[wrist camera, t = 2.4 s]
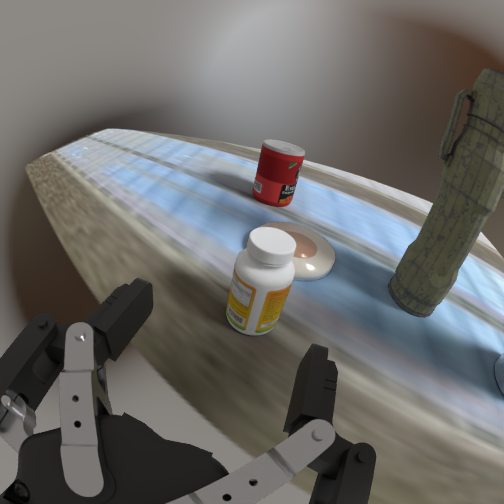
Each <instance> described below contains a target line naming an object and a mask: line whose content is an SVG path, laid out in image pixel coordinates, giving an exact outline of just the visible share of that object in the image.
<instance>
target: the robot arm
mask: <svg viewBox="0 0 504 504" xmlns="http://www.w3.org/2000/svg"><path fill="white" fill-rule="evenodd" d="M152 309H153V290H152V284H151V283H149V282H147V281H145V280H142V279H140V278H136V279H135V280H134V281H133V282H132V283H131V284H130V285H128V284H124V285H122V286H120V287H118V288H116V289H115V290H114V291H113V293H112V294H111V295H110V296H109V297H108V298H107V299H106V300H105V302H103V303H102V304H101V305H100V306H99V307H98V308H97V310H96V311H95V312H94V313H93V314H92V315H91V316H90V317H89V318H88V319H87V320H86V321H85V322H84V323H83V322H78V323H75V324H73V325H71V326H68V325H65V324H61V323H57V322H55V320H54V317H53V316H52V315H51V314H49V313H40V314H38V315H37V316H35V317H34V318H33V319H32V320H31V322H30V323H29V324H28V325H27V326H26V327H25V328H24V330H23V331H22V332H21V333H20V334H19V336H18V337H17V338H16V339H15V341H14V342H13V343H12V344H11V345H10V347H9V348H8V349H7V351H6V352H5V353H4V354H3V356H2V357H1V358H0V436H1V437H2V438H3V439H4V440H5V441H6V442H7V443H8V444H9V445H10V446H11V447H12V448H13V449H14V450H16V451H17V452H18V453H19V459H18V460H19V462H18V472H17V476H16V479H15V481H14V482H13V483H12V484H11V485H10V486H9V487H8V488H7V489H6V490H5V491H4V492H3V493H2V494H1V495H0V504H255V503H257V502H258V501H260V500H262V499H263V498H265V497H266V496H268V495H269V494H271V493H272V492H274V491H275V490H277V489H278V488H280V487H281V486H283V485H284V484H285V483H287V482H288V481H290V480H291V479H292V478H293V477H294V476H295V474H297V473H298V472H299V471H300V470H302V469H303V468H304V467H305V466H307V467H309V468H311V469H312V470H314V471H316V472H318V475H317V479H316V482H315V486H314V489H313V492H312V495H311V498H310V502H309V504H367V503H368V499H369V495H370V490H371V485H372V480H373V474H374V469H375V462H376V453H375V450H374V449H373V447H372V446H371V445H369V444H367V443H357V444H353V443H351V442H349V441H347V440H345V439H343V438H342V437H340V436H339V435H338V434H337V433H336V432H335V430H334V428H333V424H332V418H333V411H334V403H335V395H336V392H335V391H336V386H337V384H336V383H337V376H338V371H337V368H336V365H335V362H333V361H330V360H327V358H328V348H326V347H323V346H320V345H316V344H312V345H311V346H310V348H309V350H308V351H307V353H306V354H305V356H304V358H303V359H302V361H301V363H300V365H299V368H298V371H297V375H296V379H295V384H294V388H293V393H292V397H291V401H290V405H289V409H288V413H287V417H286V421H285V425H284V429H283V432H287V433H289V436H288V438H287V439H286V440H284V441H283V442H281V443H280V444H279V445H277V446H276V447H274V448H272V449H271V450H269V451H267V452H266V453H264V454H263V455H261V456H259V457H258V458H256V459H255V460H253V461H251V462H250V463H248V464H246V465H245V466H243V467H241V468H240V469H238V470H236V471H234V472H232V473H231V474H229V473H228V471H227V470H226V469H225V467H224V466H223V465H221V463H220V462H218V461H217V460H216V459H214V458H213V457H211V456H212V454H213V453H211V452H208V451H205V450H203V449H200V448H198V447H195V446H193V445H190V444H185V443H180V442H174V441H170V440H165V439H163V438H162V437H160V436H159V435H158V434H156V433H155V432H154V431H153V430H152V429H151V428H149V427H148V426H147V425H146V424H145V423H143V422H141V421H139V420H137V419H135V418H133V417H132V416H130V415H128V414H126V413H125V412H124V414H123V415H122V416H119V415H113V414H112V409H111V405H110V401H109V398H108V390H107V381H106V368H105V362H106V360H107V359H108V358H110V359H112V360H113V361H116V360H117V358H118V357H119V356H120V354H121V353H122V351H123V350H124V349H125V347H126V346H127V345H128V343H129V342H130V341H131V339H132V338H133V337H134V335H135V334H136V333H137V331H138V330H139V329H140V327H141V326H142V325H143V323H144V322H145V321H146V320H147V318H148V317H149V316H150V314H151V312H152ZM63 368H64V371H62V369H63ZM59 374H60V376H59V400H60V422H61V427H60V428H57V429H53V430H50V431H45V432H41V433H37V434H33V428H35V427H36V416H35V410H36V409H37V407H38V406H39V404H40V403H41V401H42V399H43V398H44V396H45V395H46V393H47V392H48V390H49V389H50V387H51V386H52V384H53V382H54V381H55V380H56V378H57V376H58V375H59ZM495 376H496V380H497V383H498V386H499V388H500V390H501V391H502V393H503V394H504V353H503V354H502V355H501V356H500V357H499V358H498V359H497V360H496V362H495Z"/></svg>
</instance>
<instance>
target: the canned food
mask: <svg viewBox="0 0 504 504" xmlns="http://www.w3.org/2000/svg"><path fill="white" fill-rule="evenodd" d="M304 154H305V151H304V150H303V149H302V148H300V147H298V146H296V145H293V144H290V143H287V142H283V141H278V140H265V141H264V142H263V145H262V149H261V154H260V158H259V163H258V168H257V173H256V177H255V182H254V187H253V195H254V197H255V198H256V199H257V200H259V201H260V202H262V203H264V204H267V205H271V206H276V207H284V206H287V205H289V204H290V202H291V201H292V198H293V194H294V191H295V187H296V184H297V180H298V177H299V173H300V170H301V166H302V163H303V159H304Z"/></svg>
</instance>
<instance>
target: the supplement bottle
mask: <svg viewBox="0 0 504 504" xmlns="http://www.w3.org/2000/svg"><path fill="white" fill-rule="evenodd" d="M295 249H296V242H295V240H294V239H293V238H292V237H291V236H290V235H289V234H288V233H286V232H284V231H282V230H279V229H276V228H272V227H259V228H256V229H254V230H252V231H251V233H250V235H249V238H248V242H247V248H245V249H243V250H242V251H241V252H240V253H239V254H238V256H237V258H236V262H235V266H234V272H233V277H232V282H231V287H230V293H229V298H228V303H227V309H226V315H227V319H228V321H229V323H230V324H231V325H232V326H233V327H234V328H235V329H236V330H237V331H239V332H241V333H244V334H247V335H262V334H266V333H268V332H269V331H271V330H272V329H273V328H274V327H275V325H276V323H277V321H278V318H279V316H280V313H281V311H282V308H283V305H284V303H285V300H286V298H287V295H288V292H289V290H290V287H291V285H292V282H293V279H294V275H295V268H294V265H293V263H292V261H291V260H292V258H293V256H294V252H295Z"/></svg>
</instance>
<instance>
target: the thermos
mask: <svg viewBox="0 0 504 504" xmlns="http://www.w3.org/2000/svg"><path fill="white" fill-rule="evenodd" d="M466 96H467V99H468V100H470V104H469V108H468V111H467V116H468V117H467V120H466V124H465V125H464V126H463V129H462V132H461V133H460V135H459V136H458V137H457V139H456V140H455V141H454V142H453V145H452V148H451V151H450V154H449V153H448V150H449V148H450V145H451V142H452V139H453V136H454V133H455V130H456V127H457V124H458V120H459V117H460V113H461V109H462V105H463V102H464V98H465V97H466ZM446 154H447V155H446ZM438 156H439V157H440V158H442V159H443V160H444V163H445V164H446V165H445V168H444V170H443V173H442V175H441V187H440V190H439V192H438V194H437V196H436V199H435V201H434V203H433V205H432V207H431V210H430V212H429V214H428V216H427V218H426V220H425V222H424V224H423V227H422V229H421V231H420V233H419V235H418V237H417V239H416V240H415V241H414V242H413V243H411V244H410V245H409V246H408V248H407V250H406V252H405V254H404V255H403V257H402V259H401V261H400V263H399V265H398V266H397V268H396V271H395V272H396V273H395V275H394V276H393V278H392V279H391V280H390V283H389V285H388V286H389V292H390V294H391V296H392V298H393V299H394V300H395V302H396V303H397V304H398V305H399V306H400V307H401V308H402V309H404V310H405V311H407V312H408V313H410V314H412V315H414V316H417V317H428V316H430V315H431V313H432V312H433V311H434V310H435V307H436V306H437V305H438V304H440V303H441V302H442V300H443V299H444V297H445V296H446V295H447V293H448V292H449V290H450V289H451V287H452V286H453V284H454V283H455V281H456V279H457V275H458V271H459V268H460V267H461V265H462V264H463V262H464V260H465V259H466V257H467V255H468V253H469V252H470V250H471V248H472V246H473V245H474V243H475V241H476V239H477V237H478V235H479V233H480V231H481V229H482V228H483V226H484V224H485V221H486V219H487V218H488V216H490V215H491V214H492V213H493V212H494V210H495V208H496V206H497V204H498V201H499V199H501V198H503V197H504V73H502V72H500V71H498V70H495V69H484V70H483V71H482V72H481V74H480V75H479V77H478V78H477V80H476V82H475V83H474V87H473V91H471V90H469V89H464V90H462V91H460V92H459V93H457V94H456V95H455V99H454V102H453V106H452V110H451V113H450V117H449V120H448V124H447V127H446V130H445V133H444V137H443V140H442V143H441V147H440V151H439V155H438Z"/></svg>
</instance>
